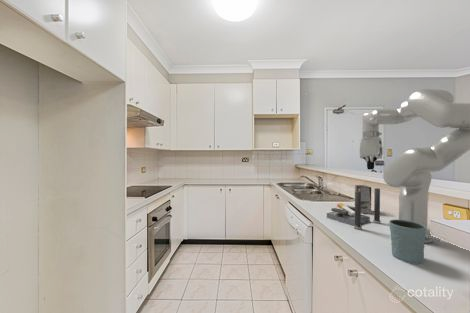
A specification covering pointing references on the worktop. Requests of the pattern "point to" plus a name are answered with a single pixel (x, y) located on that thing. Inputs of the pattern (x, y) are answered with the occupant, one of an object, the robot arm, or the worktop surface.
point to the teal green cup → (407, 240)
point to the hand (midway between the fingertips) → (370, 169)
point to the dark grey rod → (357, 210)
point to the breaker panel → (346, 216)
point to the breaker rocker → (346, 209)
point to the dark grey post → (377, 206)
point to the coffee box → (365, 198)
